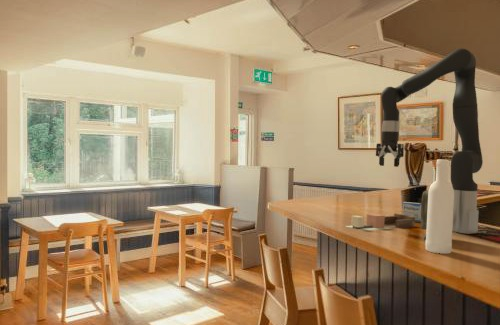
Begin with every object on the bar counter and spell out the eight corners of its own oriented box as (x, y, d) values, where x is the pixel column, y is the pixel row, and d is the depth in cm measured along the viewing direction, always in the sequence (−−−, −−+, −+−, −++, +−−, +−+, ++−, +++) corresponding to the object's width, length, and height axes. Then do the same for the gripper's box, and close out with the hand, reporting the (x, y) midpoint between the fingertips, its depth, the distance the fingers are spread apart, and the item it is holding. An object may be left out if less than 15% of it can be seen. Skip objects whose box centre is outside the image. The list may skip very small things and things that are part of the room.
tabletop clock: (427, 234, 166) (430, 170, 165) (452, 237, 161) (455, 172, 160) (419, 240, 154) (422, 172, 153) (446, 244, 149) (450, 173, 148)
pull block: (384, 227, 176) (384, 215, 175) (358, 229, 169) (359, 217, 169) (375, 225, 180) (375, 213, 180) (350, 227, 173) (350, 215, 173)
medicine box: (401, 220, 197) (402, 202, 197) (403, 219, 201) (403, 201, 201) (419, 222, 193) (420, 203, 193) (420, 221, 197) (421, 202, 197)
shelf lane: (416, 227, 181) (416, 217, 180) (363, 232, 166) (364, 220, 166) (396, 222, 190) (396, 213, 190) (344, 226, 176) (345, 216, 176)
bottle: (422, 251, 137) (427, 159, 136) (427, 246, 144) (432, 158, 143) (449, 255, 133) (454, 160, 132) (453, 250, 139) (458, 160, 138)
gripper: (408, 131, 190) (406, 167, 191) (384, 131, 203) (382, 165, 203) (397, 130, 187) (395, 167, 187) (372, 130, 199) (371, 165, 199)
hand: (388, 166), depth 195 cm, fingers open, 8 cm apart
